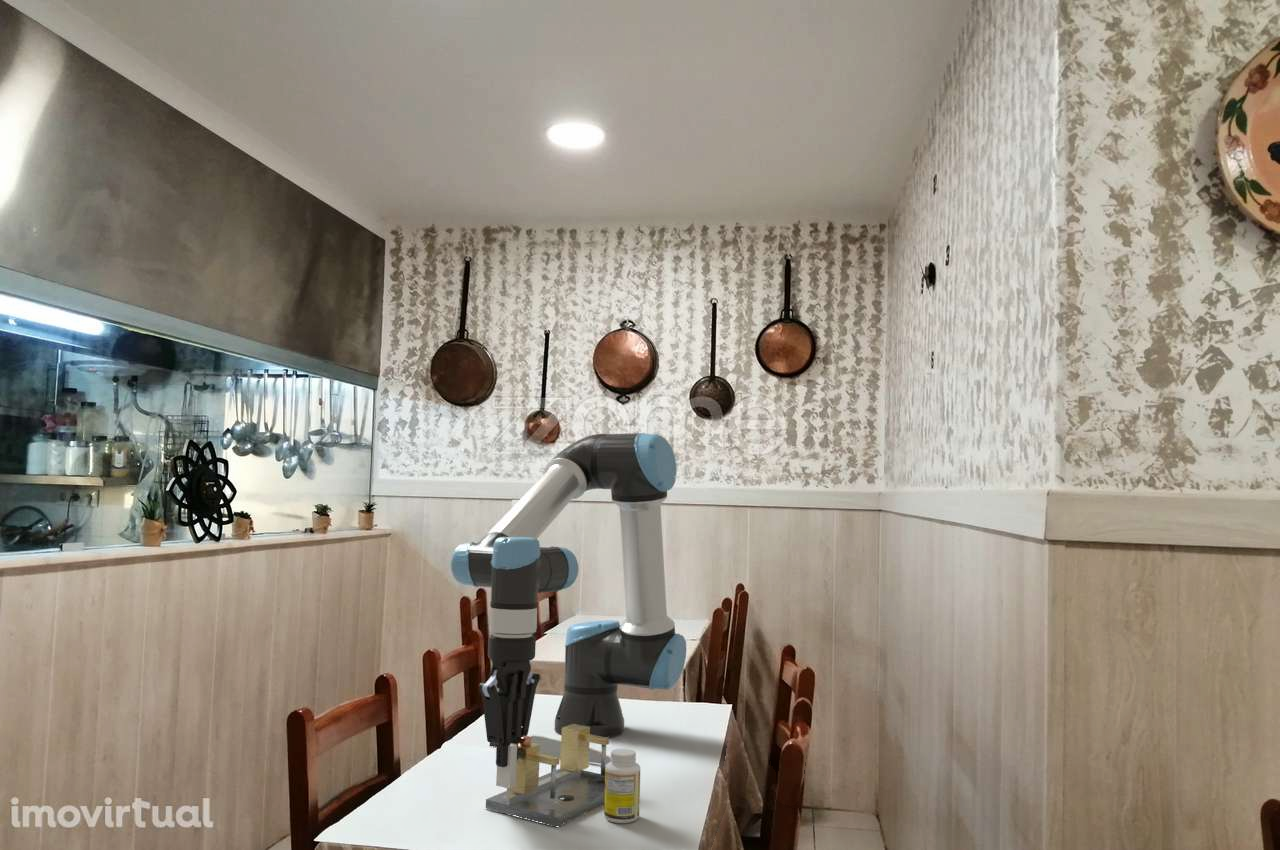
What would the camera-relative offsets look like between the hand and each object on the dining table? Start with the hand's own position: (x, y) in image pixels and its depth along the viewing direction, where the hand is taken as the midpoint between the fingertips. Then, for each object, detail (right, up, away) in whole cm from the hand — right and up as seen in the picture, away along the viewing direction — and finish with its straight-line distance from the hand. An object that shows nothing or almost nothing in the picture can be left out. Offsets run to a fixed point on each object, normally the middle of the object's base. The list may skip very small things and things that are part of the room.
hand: (505, 785), depth 140 cm
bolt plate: (+8, -5, +8) cm, 12 cm away
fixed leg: (+12, -4, +15) cm, 19 cm away
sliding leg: (+4, -2, +2) cm, 5 cm away
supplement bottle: (+18, -5, 0) cm, 19 cm away
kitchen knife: (+5, -8, +31) cm, 33 cm away
